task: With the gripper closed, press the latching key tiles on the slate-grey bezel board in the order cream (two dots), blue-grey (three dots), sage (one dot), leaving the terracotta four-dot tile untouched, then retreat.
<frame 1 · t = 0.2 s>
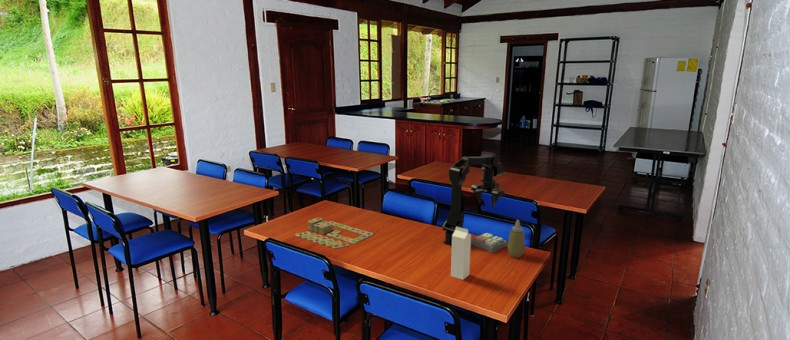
hand: (486, 205, 232), 14 cm above the table, fingers open, 9 cm apart
tile sage: (487, 236, 219), point 3 cm above the table, slide at 0.0 cm
tile terracotta: (481, 238, 215), point 3 cm above the table, slide at 0.0 cm
milk: (459, 275, 184), on the table
bezel board: (488, 245, 216), on the table
tile bluegrey: (496, 239, 214), point 3 cm above the table, slide at 0.0 cm
squeeze bottle: (515, 255, 204), on the table
pile of dominoes: (333, 236, 229), on the table
tile cream: (490, 242, 211), point 3 cm above the table, slide at 0.0 cm
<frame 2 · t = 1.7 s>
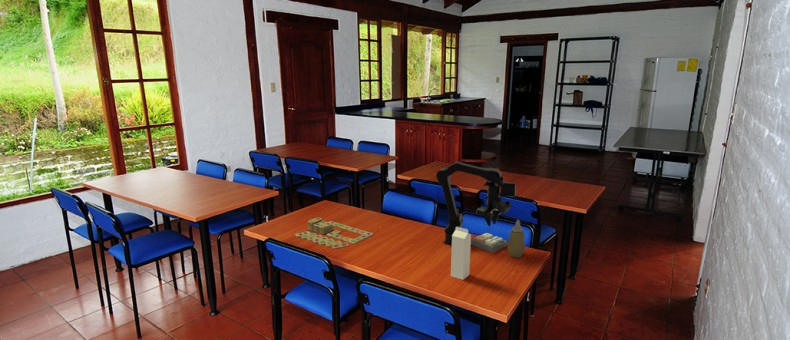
hand: (491, 224, 209), 12 cm above the table, fingers open, 4 cm apart
nothing on the table moved.
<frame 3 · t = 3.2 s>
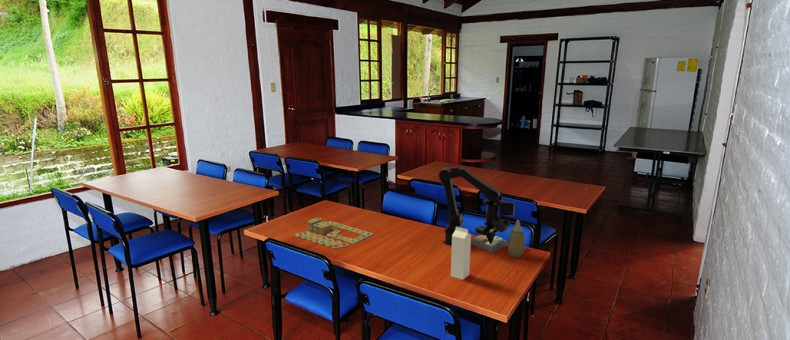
hand: (490, 243, 211), 3 cm above the table, fingers closed, pressing on tile cream
tile cream: (490, 244, 211), point 2 cm above the table, slide at 1.3 cm, touching gripper
everything else where it was.
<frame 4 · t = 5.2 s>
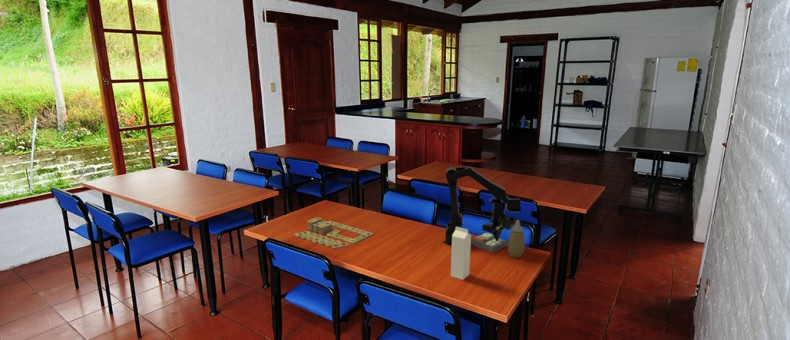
hand: (496, 240, 214), 3 cm above the table, fingers closed, pressing on tile bluegrey
tile bluegrey: (496, 242, 215), point 2 cm above the table, slide at 1.3 cm, touching gripper
tile cream: (490, 244, 211), point 2 cm above the table, slide at 1.3 cm
everything else where it was.
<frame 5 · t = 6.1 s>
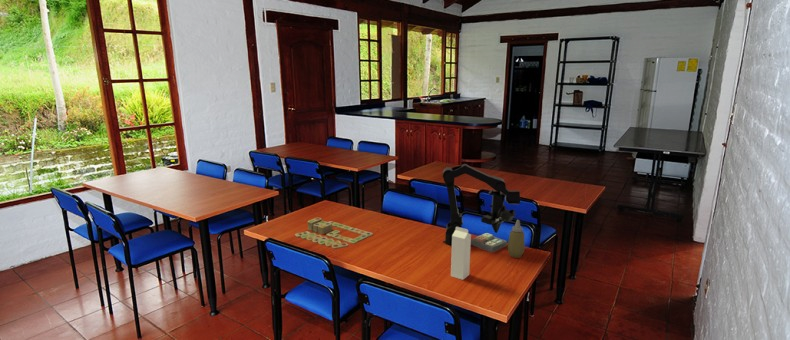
hand: (496, 232, 214), 7 cm above the table, fingers closed
tile bluegrey: (496, 242, 215), point 2 cm above the table, slide at 1.3 cm
everything else where it was.
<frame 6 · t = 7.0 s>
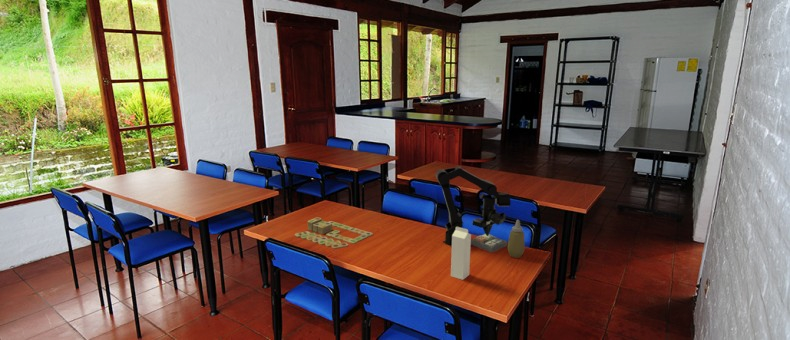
hand: (487, 235, 218), 4 cm above the table, fingers closed, pressing on tile sage
tile sage: (487, 237, 219), point 3 cm above the table, slide at 0.4 cm, touching gripper
everything else where it was.
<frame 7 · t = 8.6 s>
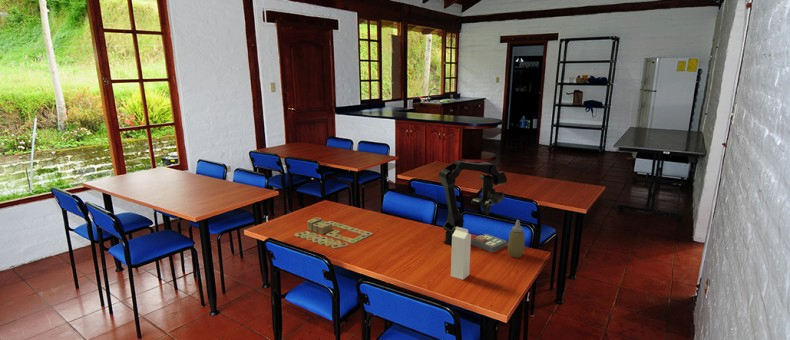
hand: (486, 214, 225), 12 cm above the table, fingers closed
tile sage: (487, 238, 219), point 2 cm above the table, slide at 1.3 cm
everything else where it was.
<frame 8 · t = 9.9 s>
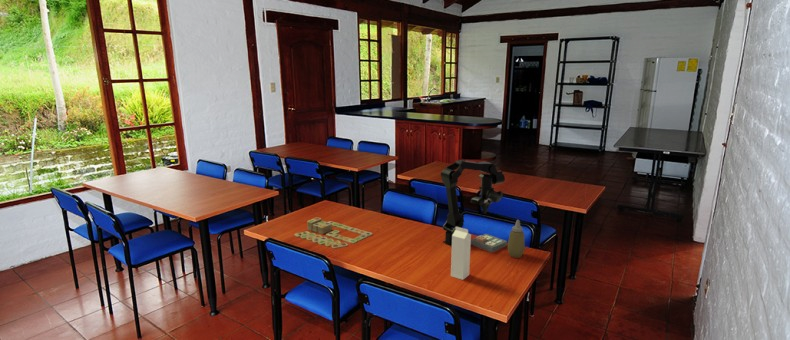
hand: (485, 213, 227), 12 cm above the table, fingers closed
nothing on the table moved.
at the end: tile cream slide at 1.3 cm; tile bluegrey slide at 1.3 cm; tile sage slide at 1.3 cm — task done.
